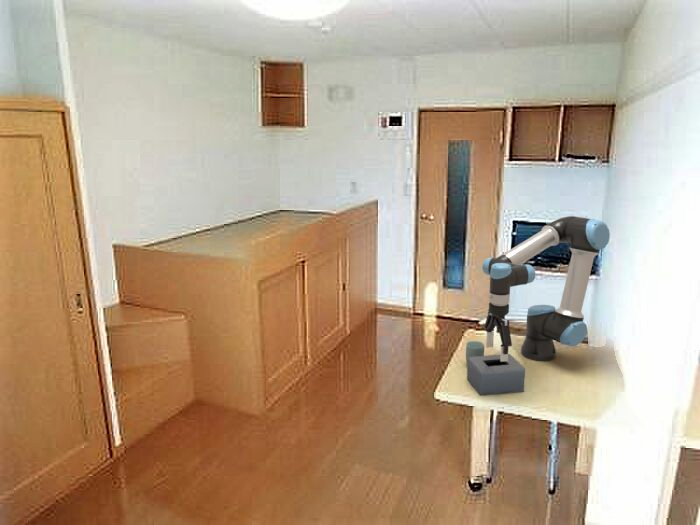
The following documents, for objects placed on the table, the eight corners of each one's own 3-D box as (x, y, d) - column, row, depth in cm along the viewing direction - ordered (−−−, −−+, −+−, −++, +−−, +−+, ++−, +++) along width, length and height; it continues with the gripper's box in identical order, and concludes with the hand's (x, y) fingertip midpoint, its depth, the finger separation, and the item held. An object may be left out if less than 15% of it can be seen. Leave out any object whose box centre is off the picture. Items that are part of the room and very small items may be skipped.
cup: (483, 370, 222) (484, 348, 219) (465, 368, 223) (466, 347, 221) (483, 362, 229) (484, 341, 227) (465, 361, 231) (466, 340, 228)
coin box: (507, 375, 216) (509, 353, 214) (523, 391, 203) (525, 368, 200) (466, 379, 214) (467, 357, 211) (480, 395, 200) (481, 372, 198)
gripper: (477, 294, 211) (475, 342, 216) (503, 314, 187) (500, 368, 192) (494, 293, 212) (492, 341, 217) (523, 313, 188) (519, 366, 193)
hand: (496, 353), depth 205 cm, fingers open, 13 cm apart
